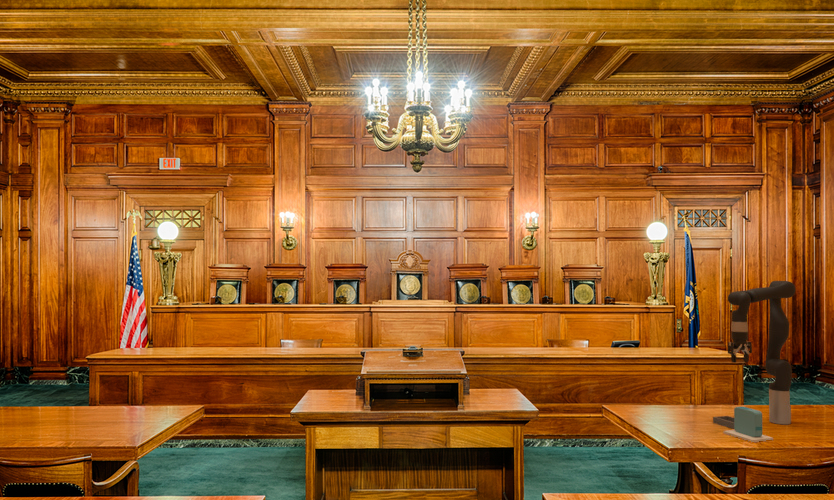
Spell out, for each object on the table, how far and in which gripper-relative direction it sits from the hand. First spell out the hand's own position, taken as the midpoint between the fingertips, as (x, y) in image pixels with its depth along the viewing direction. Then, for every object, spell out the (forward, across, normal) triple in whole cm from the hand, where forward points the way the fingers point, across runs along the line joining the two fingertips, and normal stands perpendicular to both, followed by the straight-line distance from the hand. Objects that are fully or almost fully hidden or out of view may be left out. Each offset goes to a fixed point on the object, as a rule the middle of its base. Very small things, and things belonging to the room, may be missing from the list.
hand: (740, 362), depth 294 cm
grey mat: (+33, +14, +16) cm, 39 cm away
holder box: (+33, +3, -1) cm, 33 cm away
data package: (+32, +14, +16) cm, 38 cm away
